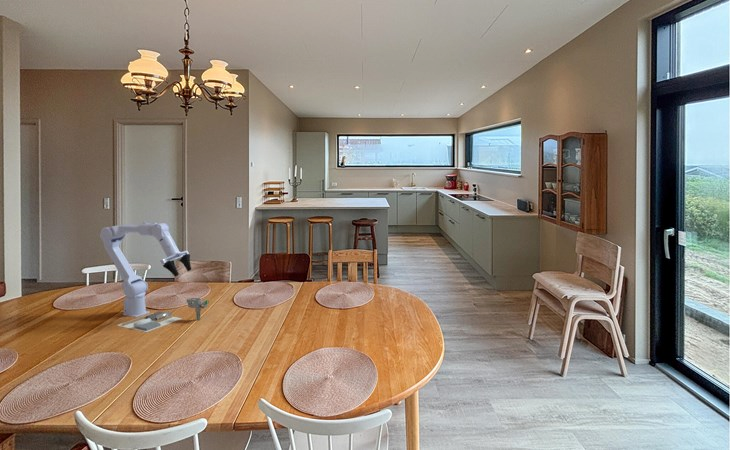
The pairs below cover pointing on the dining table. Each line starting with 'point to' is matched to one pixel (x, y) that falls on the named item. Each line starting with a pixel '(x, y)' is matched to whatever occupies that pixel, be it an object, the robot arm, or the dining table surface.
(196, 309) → the mechanical component
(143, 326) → the hinge jig
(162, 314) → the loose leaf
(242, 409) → the dining table surface
